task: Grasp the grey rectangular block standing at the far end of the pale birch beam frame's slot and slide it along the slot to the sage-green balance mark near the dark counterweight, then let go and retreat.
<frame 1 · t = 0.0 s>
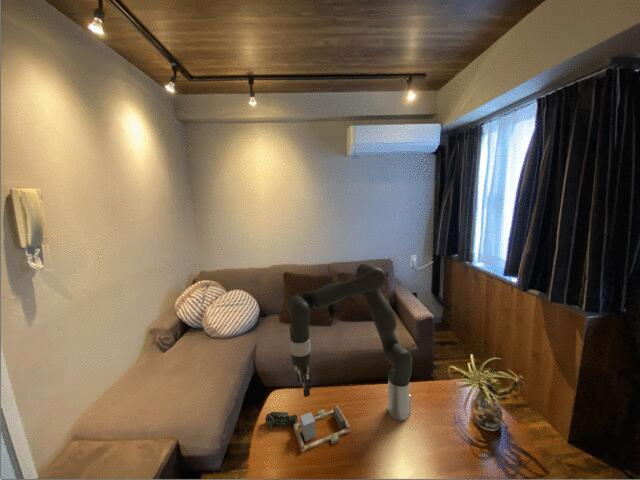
hand: (303, 387, 97), 29 cm above the table, fingers open, 8 cm apart
stun grenade: (281, 426, 114), on the table, touching beam frame
grey rectangular block: (308, 434, 110), resting in beam frame
beam frame: (321, 429, 112), on the table
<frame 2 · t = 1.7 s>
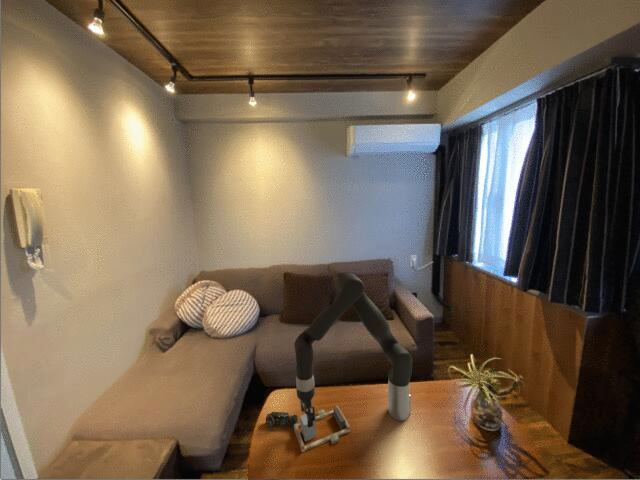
hand: (307, 418, 108), 8 cm above the table, fingers open, 8 cm apart
nothing on the table moved.
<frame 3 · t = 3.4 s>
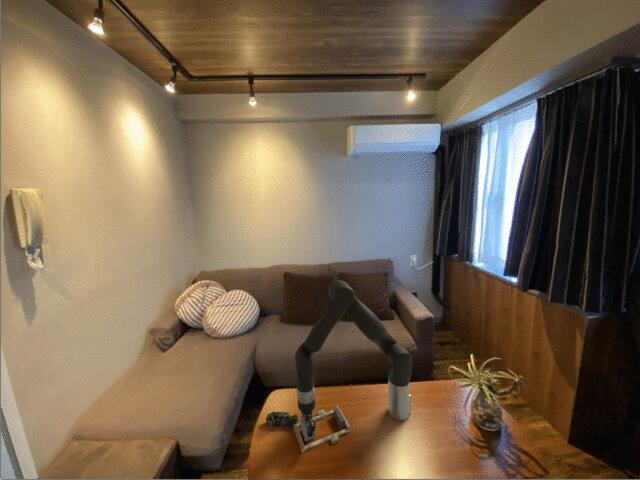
hand: (308, 430, 109), 2 cm above the table, fingers closed on grey rectangular block, 5 cm apart
grey rectangular block: (308, 434, 110), resting in beam frame, touching gripper
everything else where it was.
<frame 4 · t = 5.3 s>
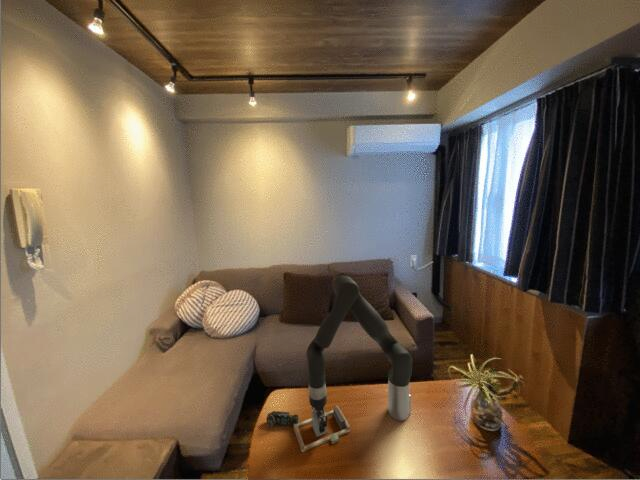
hand: (319, 426, 111), 2 cm above the table, fingers closed on grey rectangular block, 5 cm apart
grey rectangular block: (319, 430, 111), resting in beam frame, touching gripper
everything else where it was.
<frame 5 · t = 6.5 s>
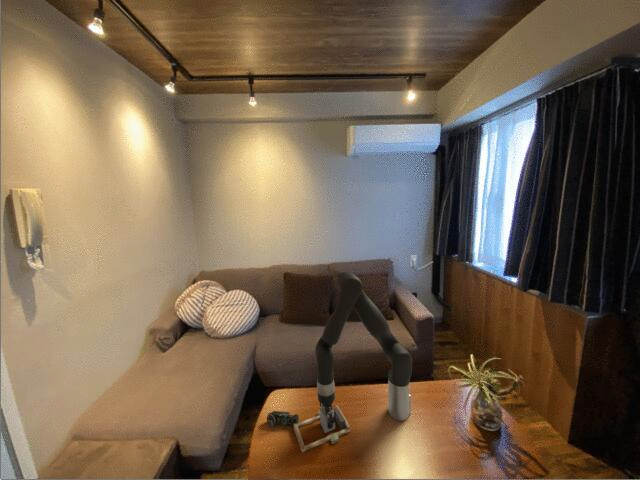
hand: (327, 422, 112), 2 cm above the table, fingers closed on grey rectangular block, 5 cm apart
grey rectangular block: (327, 426, 113), resting in beam frame, touching gripper
everything else where it was.
when the fingers open (2 cm above the table, at t = 7.5 s): grey rectangular block stays where it is, resting in beam frame.
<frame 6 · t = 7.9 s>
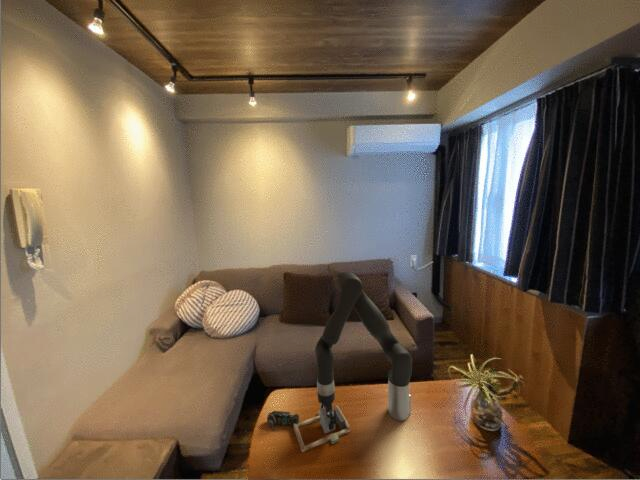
hand: (327, 421, 112), 3 cm above the table, fingers open, 8 cm apart
grey rectangular block: (327, 426, 113), resting in beam frame
everything else where it was.
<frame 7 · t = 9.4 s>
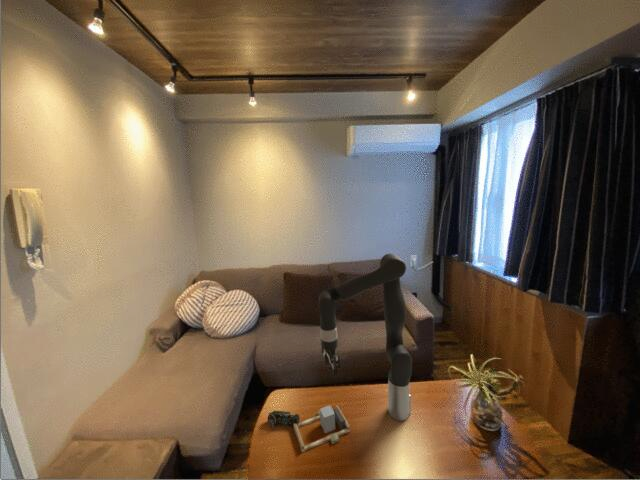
hand: (331, 369, 115), 24 cm above the table, fingers open, 8 cm apart
nothing on the table moved.
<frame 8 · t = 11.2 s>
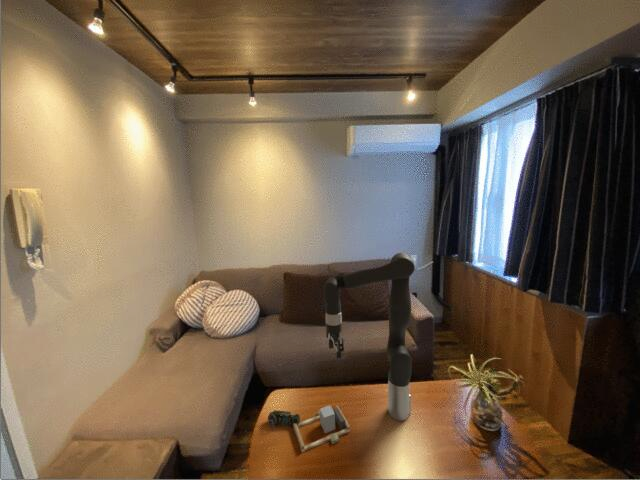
hand: (335, 352, 119), 28 cm above the table, fingers open, 8 cm apart
at the end: grey rectangular block 0.1 cm from the target spot, resting in beam frame; grey rectangular block tilted 0°; the gripper is holding nothing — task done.
